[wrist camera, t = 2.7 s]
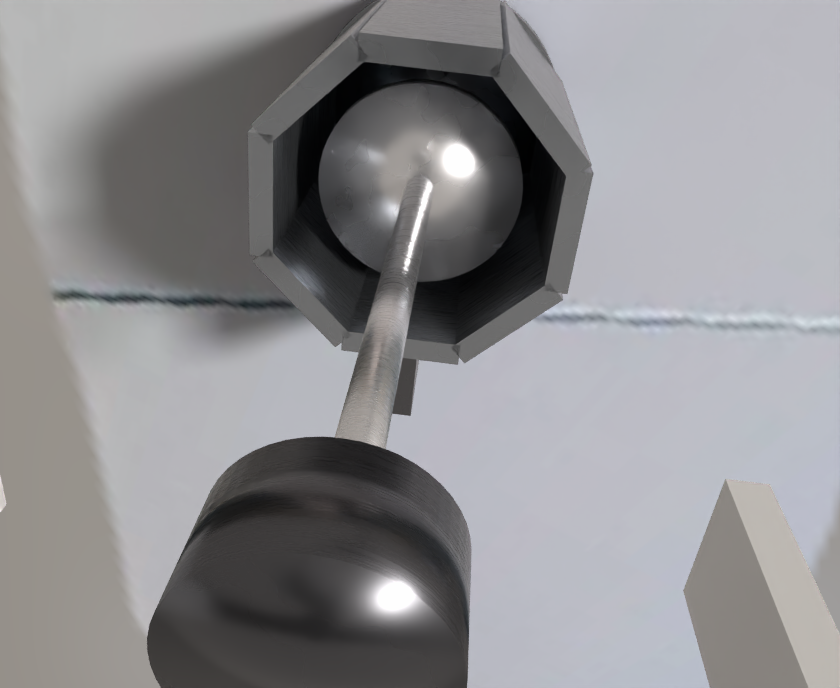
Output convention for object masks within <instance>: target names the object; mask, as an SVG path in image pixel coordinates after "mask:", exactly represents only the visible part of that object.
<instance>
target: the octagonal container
mask: <svg viewBox="0 0 840 688" xmlns="http://www.w3.org/2000/svg"><path fill="white" fill-rule="evenodd" d="M408 79H433V80H438V81H444V82H447V83H451V84H454V85H457V86H459V87H461V88H463V89H466V90H468V91H470V92H472V93H473V94H475V95H476V96H478V97H479V98H481V99H482V100H483V101H485V102H486V103H487V104H488V105H489V106H490V107H491V108H493V109H494V110H495V112H496V113H497V114H498V115H499V116H500V117H501V119H502V120H503V121H504V123H505V124H506V126H507V127H508V129H509V130H510V132H511V135H512V137H513V139H514V141H515V143H516V146H517V149H518V152H519V156H520V162H521V167H522V178H523V192H522V202H521V206H520V210H519V214H518V217H517V219H516V222H515V224H514V227H513V228H512V230H511V232H510V234H509V236H508V237H507V239H506V240H505V241H504V243H503V244H502V245H501V247H500V248H499V249H498V250H497V251H496V252H495V253H494V254H493V255H492V256H491V257H490V258H488V259H487V260H486V261H484V262H483V263H482V264H480V265H479V266H477V267H475V268H474V269H472V270H470V271H468V272H466V273H463V274H461V275H459V276H455V277H452V278H449V279H444V280H438V281H427V282H420V281H417V284H416V289H415V294H414V299H413V305H412V310H411V315H410V321H409V326H408V331H407V337H406V342H405V347H404V353H403V358H402V363H401V369H400V374H399V379H398V385H397V390H396V395H395V401H394V406H393V411H392V413H393V414H401V415H409V416H411V409H412V403H413V396H414V390H415V383H416V376H417V370H418V363H419V360H424V361H432V362H440V363H448V364H456V365H458V359H459V358H460V359H461V360H462V361H463V362H464V363H466V362H467V361H469V360H470V359H472V358H473V357H475V356H477V355H478V354H480V353H481V352H483V351H484V350H486V349H487V348H489V347H491V346H492V345H494V344H495V343H497V342H498V341H500V340H501V339H503V338H505V337H506V336H508V335H509V334H511V333H512V332H514V331H515V330H517V329H519V328H520V327H522V326H523V325H525V324H526V323H528V322H529V321H531V320H532V319H534V318H536V317H537V316H539V315H540V314H542V313H543V312H545V311H546V310H548V309H550V308H551V307H553V306H554V305H556V304H557V303H559V302H560V301H562V300H563V296H562V293H563V294H567V293H568V288H569V284H570V279H571V274H572V270H573V265H574V260H575V256H576V251H577V246H578V242H579V237H580V232H581V228H582V223H583V219H584V214H585V209H586V205H587V200H588V195H589V191H590V186H591V181H592V177H593V171H592V168H591V166H592V165H591V162H590V159H589V156H588V154H587V151H586V148H585V145H584V142H583V139H582V136H581V134H580V131H579V128H578V125H577V122H576V119H575V117H574V114H573V111H572V108H571V105H570V102H569V100H568V97H567V94H566V91H565V88H564V85H563V83H562V80H561V79H560V78H559V76H558V75H557V73H556V72H555V70H554V69H553V66H552V63H551V61H550V58H549V56H548V54H547V51H546V49H545V47H544V46H543V44H542V42H541V41H540V39H539V38H538V36H537V34H536V33H535V32H534V31H533V29H532V28H531V27H530V26H529V24H528V23H527V22H526V21H525V20H524V19H523V18H522V17H521V16H520V15H519V14H518V13H516V12H515V11H514V10H513V9H512V8H510V7H509V5H508V4H507V3H506V1H503V2H502V1H500V0H376V1H374V2H372V3H371V4H369V5H368V6H367V7H366V8H364V9H363V10H362V11H361V12H359V13H358V14H357V15H356V16H355V17H354V18H353V19H352V20H351V21H350V22H349V23H348V24H347V25H346V26H345V27H344V28H343V30H342V31H341V32H340V34H339V35H338V36H337V38H336V39H335V41H334V42H333V43H332V44H331V45H330V46H329V47H328V48H327V49H326V50H325V51H324V52H323V53H322V54H321V55H320V56H319V57H318V58H317V59H316V60H315V61H314V62H313V63H312V64H311V65H310V66H309V67H308V68H307V69H306V70H305V71H304V72H303V73H302V74H301V75H300V76H299V77H298V78H297V79H296V80H295V81H294V82H293V83H292V84H291V85H290V86H289V87H288V88H287V89H286V90H285V91H284V92H283V93H282V94H281V95H280V96H279V97H278V98H277V99H276V100H275V101H274V102H273V103H272V104H271V105H270V106H269V107H268V108H267V109H266V110H265V111H264V112H263V113H262V114H261V115H260V116H259V117H258V118H257V119H256V120H255V121H254V122H253V123H252V124H251V126H252V128H251V129H250V130H249V131H248V192H249V255H253V256H255V258H254V260H253V261H252V262H253V263H254V264H255V265H256V266H257V267H258V268H259V269H260V270H261V271H262V272H263V273H264V274H265V275H266V276H267V277H268V278H269V279H270V280H271V282H272V283H273V284H274V285H275V286H276V287H277V288H278V289H279V290H280V291H281V292H282V293H283V294H284V295H285V296H286V297H287V298H288V299H289V300H290V301H291V302H292V303H293V304H294V305H295V306H296V307H297V308H298V309H299V310H300V311H301V312H302V313H303V315H304V316H305V317H306V318H307V319H308V320H309V321H310V322H311V323H312V324H313V325H314V326H315V327H316V328H317V329H318V330H319V331H320V332H321V333H322V334H323V335H324V336H325V337H326V338H327V339H328V340H329V341H330V342H331V343H332V344H333V345H334V346H335V347H336V346H337V345H339V344H340V343H342V349H341V350H344V351H352V352H359V350H360V346H361V343H362V339H363V336H364V332H365V329H366V325H367V322H368V318H369V315H370V311H371V307H372V304H373V300H374V297H375V293H376V290H377V286H378V283H379V279H380V276H381V272H378V271H376V270H374V269H372V268H371V267H369V266H367V265H366V264H364V263H363V262H361V261H360V260H359V259H357V258H356V257H355V256H353V255H352V254H351V253H350V252H349V251H348V250H347V249H346V248H345V247H344V245H343V244H342V243H341V242H340V240H339V239H338V238H337V237H336V235H335V233H334V232H333V230H332V229H331V227H330V225H329V223H328V221H327V218H326V216H325V214H324V210H323V207H322V204H321V199H320V193H319V167H320V161H321V157H322V153H323V150H324V147H325V145H326V142H327V140H328V138H329V136H330V134H331V133H332V131H333V129H334V127H335V126H336V124H337V123H338V121H339V120H340V119H341V117H342V116H343V115H344V113H345V112H346V111H347V110H348V109H349V108H350V107H351V106H352V105H353V104H354V103H355V102H356V101H358V100H359V99H360V98H362V97H363V96H364V95H366V94H367V93H369V92H371V91H373V90H375V89H377V88H379V87H381V86H384V85H387V84H389V83H392V82H397V81H401V80H408Z"/></svg>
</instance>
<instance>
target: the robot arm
mask: <svg viewBox="0 0 840 688" xmlns="http://www.w3.org/2000/svg"><path fill="white" fill-rule="evenodd" d="M5 505H6V499H5V495H4V490H3V485H2V481H1V476H0V512H1V511H2V509H3V508H4V507H5ZM683 591H684V595H685V598H686V602H687V606H688V609H689V613H690V616H691V620H692V624H693V627H694V631H695V635H696V638H697V642H698V646H699V649H700V653H701V657H702V660H703V664H704V667H705V671H706V675H707V678H708V682H709V686H710V688H840V634H839V632H838V629H837V627H836V625H835V623H834V621H833V619H832V617H831V614H830V613H829V610H828V608H827V606H826V604H825V602H824V599H823V597H822V595H821V593H820V591H819V589H818V587H817V585H816V582H815V580H814V578H813V576H812V574H811V572H810V570H809V567H808V565H807V563H806V561H805V559H804V557H803V555H802V552H801V550H800V548H799V546H798V544H797V542H796V540H795V537H794V535H793V533H792V531H791V529H790V527H789V525H788V523H787V520H786V518H785V516H784V514H783V512H782V510H781V508H780V505H779V503H778V501H777V499H776V497H775V495H774V493H773V490H772V488H771V486H770V484H762V483H754V482H746V481H738V480H730V479H725V482H724V484H723V487H722V490H721V492H720V495H719V498H718V500H717V503H716V505H715V508H714V511H713V513H712V516H711V519H710V521H709V524H708V527H707V529H706V532H705V535H704V537H703V540H702V543H701V545H700V548H699V551H698V553H697V556H696V559H695V561H694V564H693V566H692V569H691V572H690V574H689V577H688V580H687V582H686V585H685V588H684V590H683Z"/></svg>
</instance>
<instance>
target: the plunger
mask: <svg viewBox="0 0 840 688" xmlns="http://www.w3.org/2000/svg"><path fill="white" fill-rule="evenodd" d="M522 192H523V178H522V167H521V162H520V156H519V152H518V149H517V146H516V143H515V141H514V139H513V137H512V135H511V132H510V130H509V129H508V127H507V126H506V124H505V123H504V121H503V120H502V119H501V117H500V116H499V115H498V114H497V113H496V112H495V110H494V109H493V108H491V107H490V106H489V105H488V104H487V103H486V102H485V101H483V100H482V99H481V98H479V97H478V96H476V95H475V94H473V93H472V92H470V91H468V90H466V89H463V88H461V87H459V86H457V85H454V84H451V83H447V82H444V81H438V80H433V79H408V80H401V81H397V82H392V83H389V84H387V85H384V86H381V87H379V88H377V89H375V90H373V91H371V92H369V93H367V94H366V95H364V96H363V97H362V98H360V99H359V100H358V101H356V102H355V103H354V104H353V105H352V106H351V107H350V108H349V109H348V110H347V111H346V112H345V113H344V115H343V116H342V117H341V119H340V120H339V121H338V123H337V124H336V126H335V127H334V129H333V131H332V133H331V134H330V136H329V138H328V140H327V142H326V145H325V147H324V150H323V153H322V157H321V161H320V167H319V193H320V199H321V204H322V207H323V210H324V214H325V216H326V218H327V221H328V223H329V225H330V227H331V229H332V230H333V232H334V233H335V235H336V237H337V238H338V239H339V240H340V242H341V243H342V244H343V245H344V247H345V248H346V249H347V250H348V251H349V252H350V253H351V254H352V255H353V256H355V257H356V258H357V259H359V260H360V261H361V262H363V263H364V264H366V265H367V266H369V267H371V268H372V269H374V270H376V271H378V272H381V276H380V279H379V283H378V286H377V290H376V293H375V297H374V300H373V304H372V307H371V311H370V315H369V318H368V322H367V325H366V329H365V332H364V336H363V339H362V343H361V346H360V350H359V353H358V357H357V360H356V364H355V367H354V371H353V375H352V378H351V382H350V385H349V389H348V392H347V396H346V399H345V403H344V406H343V410H342V413H341V417H340V420H339V424H338V428H337V431H336V435H335V438H333V437H304V438H297V439H290V440H285V441H281V442H277V443H273V444H270V445H267V446H265V447H262V448H260V449H257V450H255V451H253V452H251V453H249V454H248V455H246V456H244V457H242V458H241V459H239V460H238V461H237V462H235V463H234V464H233V465H232V466H230V467H229V468H228V469H227V470H226V471H225V472H224V473H223V474H222V475H221V476H220V478H219V479H218V480H217V482H216V483H215V485H214V486H213V488H212V489H211V491H210V493H209V495H208V498H207V500H206V502H205V504H204V506H203V508H202V511H201V513H200V515H199V517H198V519H197V521H196V524H195V526H194V528H193V530H192V532H191V534H190V537H189V539H188V541H187V543H186V545H185V547H184V550H183V552H182V554H181V556H180V558H179V560H178V563H177V565H176V567H175V569H174V571H173V573H172V575H171V578H170V580H169V582H168V584H167V586H166V588H165V591H164V593H163V595H162V597H161V599H160V601H159V604H158V606H157V608H156V610H155V612H154V615H153V617H152V620H151V622H150V625H149V631H148V636H147V645H148V646H147V650H148V656H149V661H150V665H151V668H152V670H153V673H154V675H155V678H156V680H157V681H158V683H159V684H160V686H161V688H467V678H468V645H469V613H470V580H471V540H470V534H469V530H468V527H467V523H466V521H465V519H464V516H463V514H462V512H461V510H460V508H459V507H458V505H457V504H456V502H455V501H454V499H453V498H452V496H451V495H450V494H449V493H448V492H447V490H446V489H445V488H444V487H443V486H442V485H441V484H440V483H439V482H438V481H437V480H436V479H435V478H433V477H432V476H431V475H430V474H429V473H428V472H426V471H425V470H423V469H422V468H420V467H419V466H418V465H416V464H415V463H413V462H411V461H409V460H407V459H406V458H404V457H402V456H400V455H398V454H396V453H394V452H391V451H389V450H386V449H385V448H386V443H387V438H388V432H389V427H390V422H391V417H392V411H393V406H394V401H395V395H396V390H397V385H398V379H399V374H400V369H401V363H402V358H403V353H404V347H405V342H406V337H407V331H408V326H409V321H410V315H411V310H412V305H413V299H414V294H415V289H416V284H417V281H420V282H427V281H438V280H444V279H449V278H452V277H455V276H459V275H461V274H463V273H466V272H468V271H470V270H472V269H474V268H475V267H477V266H479V265H480V264H482V263H483V262H484V261H486V260H487V259H488V258H490V257H491V256H492V255H493V254H494V253H495V252H496V251H497V250H498V249H499V248H500V247H501V245H502V244H503V243H504V241H505V240H506V239H507V237H508V236H509V234H510V232H511V230H512V228H513V227H514V224H515V222H516V219H517V217H518V214H519V210H520V206H521V202H522Z"/></svg>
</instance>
